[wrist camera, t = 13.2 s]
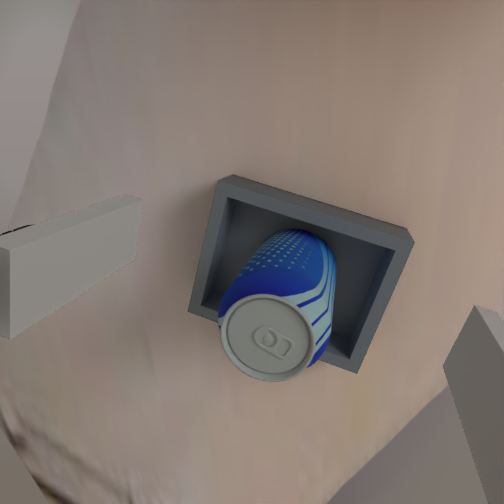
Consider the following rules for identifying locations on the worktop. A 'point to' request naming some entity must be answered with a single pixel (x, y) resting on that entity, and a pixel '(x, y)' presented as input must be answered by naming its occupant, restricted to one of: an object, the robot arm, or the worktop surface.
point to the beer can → (280, 307)
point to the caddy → (323, 225)
